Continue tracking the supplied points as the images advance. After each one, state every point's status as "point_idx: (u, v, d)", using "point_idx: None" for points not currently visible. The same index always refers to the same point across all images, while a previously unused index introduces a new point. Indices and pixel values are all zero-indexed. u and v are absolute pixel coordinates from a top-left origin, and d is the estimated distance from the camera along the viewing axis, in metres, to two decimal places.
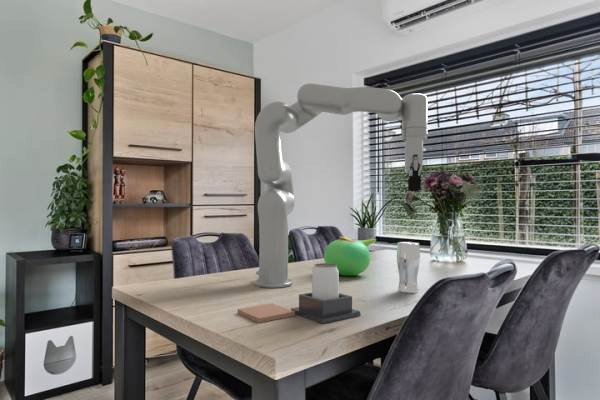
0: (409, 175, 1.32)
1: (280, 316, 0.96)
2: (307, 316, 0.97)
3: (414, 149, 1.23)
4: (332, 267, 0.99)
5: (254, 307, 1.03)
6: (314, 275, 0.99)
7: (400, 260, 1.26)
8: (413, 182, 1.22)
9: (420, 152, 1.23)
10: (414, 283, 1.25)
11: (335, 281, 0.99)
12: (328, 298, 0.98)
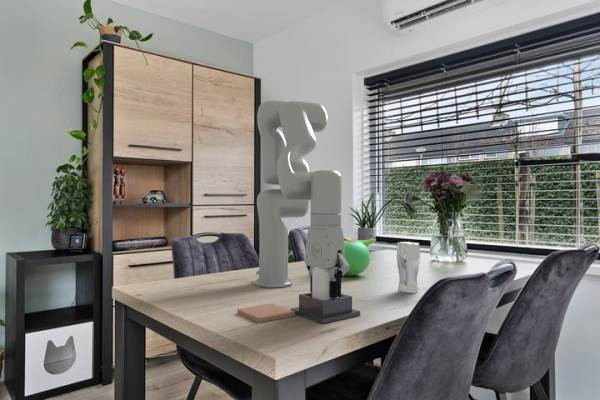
0: None
1: (280, 316, 0.96)
2: (307, 316, 0.97)
3: (338, 243, 0.97)
4: None
5: (254, 307, 1.03)
6: (314, 275, 0.99)
7: (400, 260, 1.26)
8: (336, 289, 0.97)
9: (343, 247, 0.98)
10: (414, 283, 1.25)
11: None
12: (328, 298, 0.98)
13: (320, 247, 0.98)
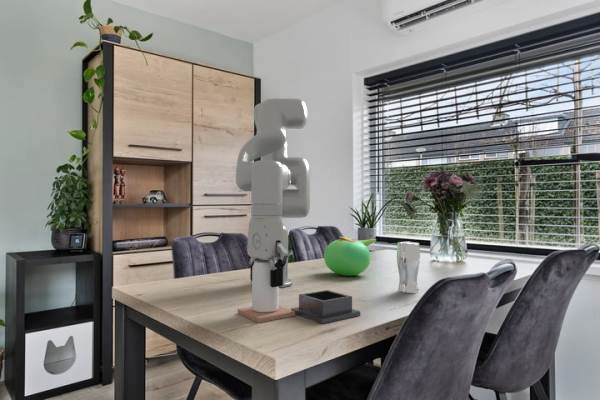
0: (253, 261, 1.03)
1: (280, 316, 0.96)
2: (307, 316, 0.97)
3: (277, 233, 0.96)
4: None
5: None
6: (253, 271, 0.99)
7: (400, 260, 1.26)
8: (277, 278, 0.95)
9: (282, 237, 0.97)
10: (414, 283, 1.25)
11: None
12: (266, 294, 0.97)
13: (259, 237, 0.97)
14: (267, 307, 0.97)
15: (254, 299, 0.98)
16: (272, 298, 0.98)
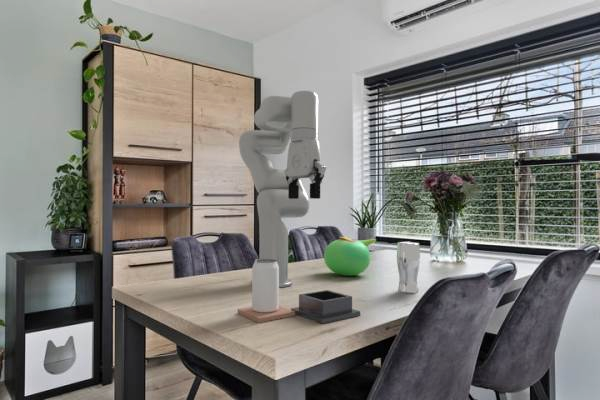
0: (291, 181, 1.18)
1: (280, 316, 0.96)
2: (307, 316, 0.97)
3: (314, 153, 1.11)
4: (271, 263, 0.98)
5: None
6: (253, 271, 0.99)
7: (400, 260, 1.26)
8: (315, 190, 1.10)
9: (319, 157, 1.12)
10: (414, 283, 1.25)
11: (273, 277, 0.98)
12: (266, 294, 0.97)
13: (299, 158, 1.12)
14: (267, 307, 0.97)
15: (254, 299, 0.98)
16: (272, 298, 0.98)
